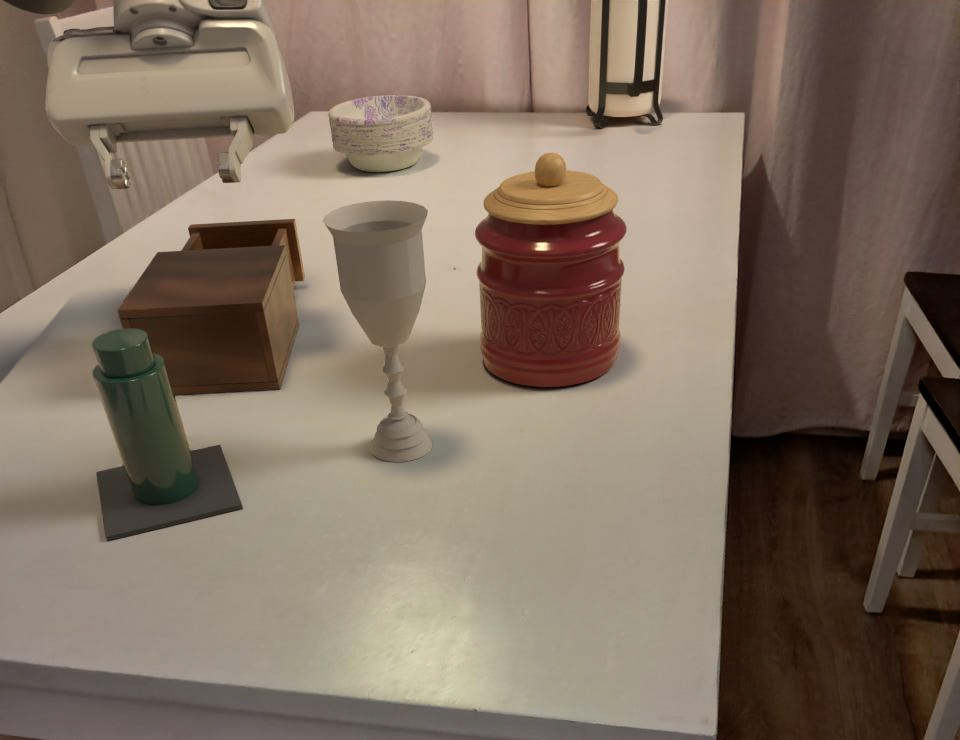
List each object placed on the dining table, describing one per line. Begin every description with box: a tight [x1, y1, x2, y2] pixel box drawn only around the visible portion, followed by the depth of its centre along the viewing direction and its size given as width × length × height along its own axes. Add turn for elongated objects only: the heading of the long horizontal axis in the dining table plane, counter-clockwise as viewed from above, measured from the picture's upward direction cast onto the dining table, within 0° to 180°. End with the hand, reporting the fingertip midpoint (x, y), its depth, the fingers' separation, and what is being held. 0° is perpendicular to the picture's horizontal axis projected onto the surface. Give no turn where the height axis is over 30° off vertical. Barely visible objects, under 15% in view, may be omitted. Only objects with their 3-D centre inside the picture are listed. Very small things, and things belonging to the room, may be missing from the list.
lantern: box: [585, 0, 670, 129], centre depth 144 cm, size 17×16×30 cm
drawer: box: [180, 218, 306, 290], centre depth 98 cm, size 17×11×6 cm, turn 1°
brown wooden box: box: [116, 245, 300, 396], centre depth 87 cm, size 15×13×8 cm
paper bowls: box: [327, 94, 434, 173], centre depth 138 cm, size 15×15×8 cm
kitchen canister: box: [474, 152, 628, 388], centre depth 81 cm, size 13×13×18 cm
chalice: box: [322, 200, 433, 463], centre depth 70 cm, size 7×7×18 cm
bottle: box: [91, 328, 199, 505], centre depth 68 cm, size 5×5×12 cm
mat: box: [95, 444, 243, 542], centre depth 72 cm, size 10×10×1 cm
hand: (173, 182), depth 77 cm, fingers open, 8 cm apart
